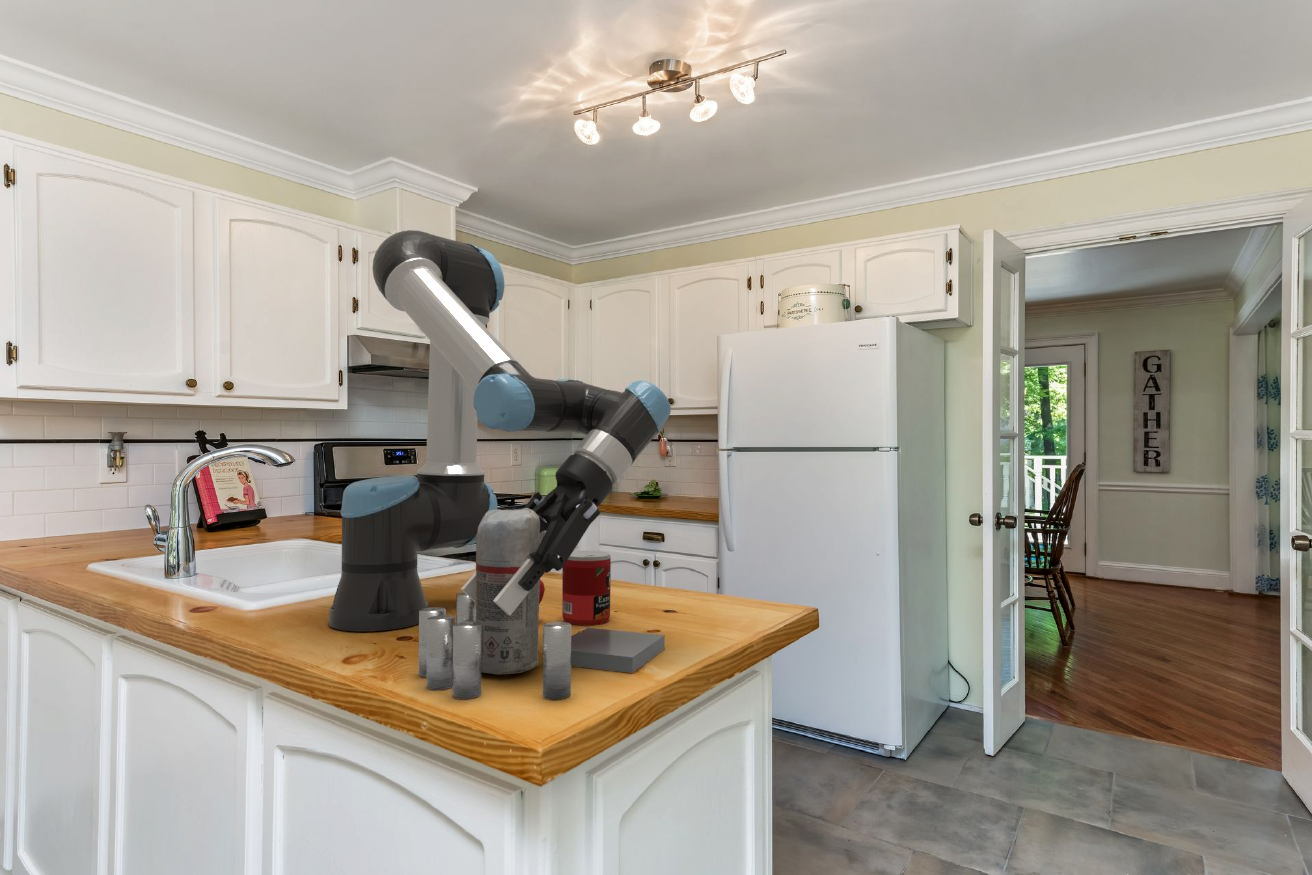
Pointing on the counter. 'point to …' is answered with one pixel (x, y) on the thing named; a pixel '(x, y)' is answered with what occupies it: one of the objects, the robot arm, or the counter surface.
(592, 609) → the canned food
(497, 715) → the counter surface
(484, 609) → the spray can
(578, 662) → the slate board
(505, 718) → the counter surface
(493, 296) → the robot arm
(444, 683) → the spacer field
